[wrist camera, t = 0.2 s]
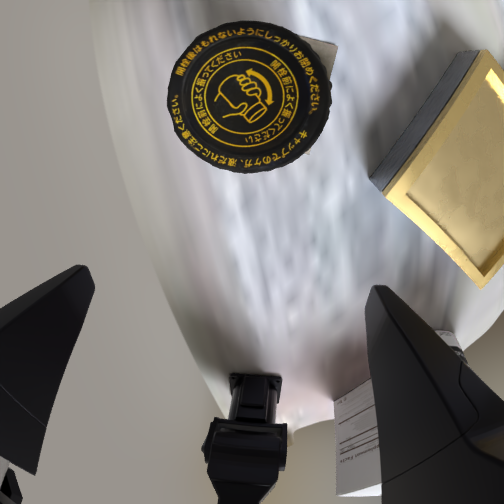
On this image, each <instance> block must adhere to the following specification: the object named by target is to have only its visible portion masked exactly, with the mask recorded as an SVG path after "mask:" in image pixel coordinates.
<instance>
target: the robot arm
mask: <svg viewBox="0 0 504 504" xmlns="http://www.w3.org/2000/svg"><path fill="white" fill-rule="evenodd" d="M94 291H95V284H94V281H93V279H92V277H91V274H90V271H89V269H88V267H87V266H85V265H75V266H73V267H71V268H69V269H67V270H66V271H64V272H62V273H60V274H58V275H56V276H55V277H53V278H51V279H49V280H48V281H46V282H44V283H42V284H40V285H39V286H37V287H35V288H34V289H32V290H30V291H28V292H27V293H25V294H23V295H22V296H20V297H18V298H17V299H15V300H13V301H12V302H10V303H8V304H7V305H5V306H4V307H2V308H0V504H21V502H22V499H23V497H22V494H21V492H20V489H19V486H18V482H17V479H16V476H15V473H14V471H13V470H12V469H11V468H9V467H8V466H9V463H10V462H11V463H12V464H14V465H16V466H18V467H19V468H21V469H23V470H25V471H27V472H29V473H30V474H32V475H34V476H35V474H36V471H37V467H38V462H39V457H40V453H41V448H42V444H43V440H44V436H45V432H46V427H47V424H48V421H49V417H50V414H51V410H52V407H53V404H54V401H55V398H56V394H57V392H58V389H59V385H60V383H61V380H62V377H63V374H64V372H65V369H66V366H67V363H68V361H69V358H70V356H71V353H72V350H73V348H74V346H75V343H76V341H77V338H78V336H79V333H80V331H81V328H82V326H83V323H84V320H85V317H86V314H87V311H88V308H89V305H90V302H91V299H92V297H93V294H94ZM365 321H366V334H367V351H368V361H369V368H370V374H371V381H372V387H373V395H374V402H375V410H376V419H377V428H378V439H379V451H380V466H381V483H382V484H381V493H382V504H504V401H503V400H502V399H501V398H500V397H499V396H498V395H497V394H496V393H494V392H493V391H492V390H491V389H490V388H489V387H488V386H487V385H486V384H485V383H484V382H483V381H482V380H481V379H480V378H479V377H478V376H477V375H476V374H475V373H474V372H473V371H472V370H471V369H470V367H469V366H468V365H467V364H466V363H465V362H464V361H463V360H462V361H461V358H460V357H459V356H458V355H457V354H456V353H455V351H454V350H453V349H452V348H451V347H450V346H449V345H448V344H447V343H446V342H445V341H444V340H443V339H442V338H441V337H440V336H439V335H438V334H437V333H436V332H435V331H434V330H433V329H432V328H431V327H430V326H429V325H428V324H427V323H426V322H425V321H424V320H423V319H422V318H421V317H420V316H419V315H418V314H416V313H415V312H414V311H413V310H412V309H411V308H410V307H409V306H408V305H407V304H406V303H405V302H404V301H403V300H402V299H401V298H400V297H399V296H397V295H396V294H395V293H394V292H393V291H392V290H391V289H390V288H389V287H388V286H386V285H373V286H372V288H371V290H370V294H369V297H368V300H367V303H366V306H365ZM229 378H230V387H231V395H232V401H231V406H230V412H229V417H228V419H220V418H218V417H214V421H213V422H211V424H210V428H209V432H208V435H207V437H206V439H205V441H204V443H203V445H202V448H201V450H202V452H203V453H204V457H205V463H208V468H207V474H208V476H209V478H210V480H211V482H212V484H213V487H214V489H215V491H216V493H217V495H218V504H260V503H261V502H262V501H263V500H264V499H265V498H266V496H267V495H268V494H269V493H270V492H271V490H272V489H273V488H274V487H275V485H276V482H277V480H278V474H279V471H284V470H285V464H286V456H287V423H283V424H275V419H276V405H277V404H278V403H279V398H280V392H281V385H282V378H281V377H272V376H258V375H245V374H235V373H232V374H230V377H229Z"/></svg>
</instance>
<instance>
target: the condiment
mask: <svg viewBox="0 0 504 504" xmlns="http://www.w3.org/2000/svg"><path fill="white" fill-rule="evenodd" d="M337 49H338V46H335V45H332V44H328V43H324V42H321V41H317V40H313V39H309V38H305V37H301V36H298V35H297V34H295V33H293V32H291V31H290V30H288V29H286V28H284V27H281V26H277V25H274V24H271V23H265V22H259V21H238V22H231V23H225V24H223V25H220V26H218V27H216V28H214V29H211V30H209V31H207V32H205V33H202V34H201V35H199V36H197V37H196V38H195V40H194V41H193V42H192V43H191V44H190V46H188V47H187V49H186V50H185V51H184V52H183V54H182V55H181V56H180V58H179V59H178V60H177V61H176V63H175V65H174V68H173V70H172V73H171V78H170V82H169V86H168V96H167V108H168V111H169V113H170V115H171V118H172V121H173V125H174V131H175V133H176V134H177V136H178V137H179V139H180V140H181V141H182V142H183V144H184V145H185V146H186V147H187V148H188V149H189V150H191V151H192V152H193V153H194V154H195V155H197V156H198V157H199V158H201V159H202V160H204V161H206V162H208V163H210V164H211V165H212V166H215V167H217V168H219V169H224V170H229V171H232V172H237V173H244V174H247V173H257V172H262V171H271V170H273V169H276V168H280V167H284V166H285V165H287V164H289V163H292V162H293V161H295V160H296V159H298V158H299V157H300V156H301V155H303V154H304V153H305V154H309V153H310V150H311V147H312V145H313V144H314V143H315V142H316V140H317V139H318V137H319V136H320V134H321V133H322V131H323V128H324V126H325V124H326V122H327V120H328V117H329V113H330V110H329V108H330V106H331V104H332V98H331V92H330V91H331V88H332V83H331V82H330V76H331V72H332V68H333V65H334V61H335V57H336V53H337Z"/></svg>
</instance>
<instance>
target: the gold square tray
mask: <svg viewBox="0 0 504 504" xmlns="http://www.w3.org/2000/svg"><path fill="white" fill-rule="evenodd" d="M369 180H370V181H371V182H372V183H373V184H374V185H375V186H376V187H377V188H378V190H379V191H380V192H381V193H382V194H383V195H384V196H385V197H386V198H387V199H388V200H389V201H390V202H392V203H393V204H394V205H395V206H396V207H397V208H399V209H400V210H401V211H402V212H403V213H404V214H405V215H407V216H408V217H409V218H410V219H411V220H412V221H413V222H414V223H416V224H417V225H418V226H419V227H420V228H421V229H422V230H423V231H424V232H425V233H426V234H427V235H429V236H430V237H431V238H432V239H433V240H434V241H435V242H436V243H437V244H438V245H439V246H440V247H441V248H442V249H443V250H444V251H445V252H446V253H447V254H448V255H449V256H450V257H451V258H452V259H453V260H454V261H455V262H456V263H457V264H458V265H459V266H460V268H461V269H462V270H463V271H464V272H465V273H466V274H467V275H468V276H469V277H470V278H471V279H472V281H473V282H474V283H475V284H476V285H477V286H478V287H479V289H480V290H481V289H482V288H483V287H484V286H485V285H486V284H487V283H488V282H489V281H490V279H491V278H492V277H493V276H494V275H495V274H496V273H497V271H498V270H499V269H500V268H501V267H502V265H503V264H504V71H503V69H502V68H501V67H500V65H499V64H498V63H497V61H496V60H495V59H494V57H493V56H492V55H491V54H490V52H489V51H488V50H481V51H480V50H475V51H465V52H458V54H457V56H456V57H455V59H454V60H453V62H452V63H451V65H450V66H449V68H448V69H447V71H446V72H445V74H444V75H443V77H442V78H441V80H440V81H439V83H438V84H437V86H436V87H435V89H434V90H433V92H432V93H431V95H430V96H429V98H428V99H427V101H426V102H425V103H424V105H423V106H422V108H421V109H420V111H419V112H418V113H417V115H416V116H415V118H414V119H413V120H412V122H411V123H410V125H409V126H408V127H407V129H406V130H405V132H404V133H403V134H402V136H401V137H400V138H399V140H398V141H397V143H396V144H395V145H394V147H393V148H392V149H391V151H390V152H389V153H388V155H387V156H386V157H385V159H384V160H383V161H382V163H381V164H380V165H379V167H378V168H377V169H376V171H375V172H374V173H373V175H372V176H371V177H370V178H369Z"/></svg>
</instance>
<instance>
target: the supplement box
mask: <svg viewBox="0 0 504 504" xmlns="http://www.w3.org/2000/svg"><path fill="white" fill-rule="evenodd" d="M334 415H335V435H336V436H335V437H336V495H337V496H379V495H382V493H381V484H382V483H381V466H380V451H379V439H378V428H377V419H376V410H375V402H374V395H373V387H372V381H371V379H369V380H368V381H366V382H365V383H363V384H362V385H360V386H358V387H357V388H355V389H354V390H352V391H351V392H349V393H348V394H346V395H344V396H343V397H341V398H339V399H338V400H336V401H334Z"/></svg>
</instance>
